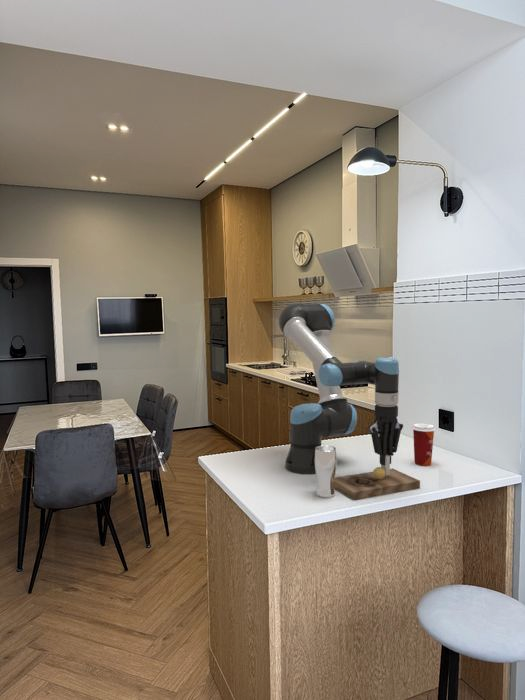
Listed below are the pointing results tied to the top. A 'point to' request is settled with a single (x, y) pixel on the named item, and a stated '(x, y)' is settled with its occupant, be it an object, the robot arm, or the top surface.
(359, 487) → the board
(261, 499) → the top surface
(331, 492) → the beer glass
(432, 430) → the coffee cup
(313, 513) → the top surface
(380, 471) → the ball
